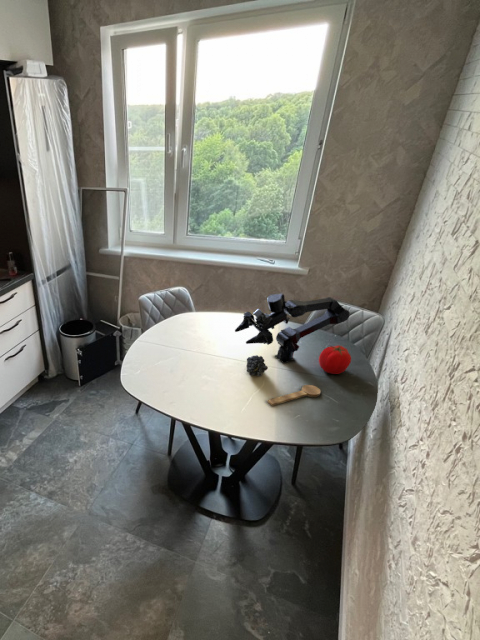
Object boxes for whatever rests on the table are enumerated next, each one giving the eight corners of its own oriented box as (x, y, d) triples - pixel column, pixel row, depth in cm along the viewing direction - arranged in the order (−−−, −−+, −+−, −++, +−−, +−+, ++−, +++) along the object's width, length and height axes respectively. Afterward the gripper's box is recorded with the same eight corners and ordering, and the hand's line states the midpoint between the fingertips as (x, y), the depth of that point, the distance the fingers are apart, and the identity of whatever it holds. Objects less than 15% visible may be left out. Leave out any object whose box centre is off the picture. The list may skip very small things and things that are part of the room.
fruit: (250, 344, 183) (254, 360, 171) (267, 350, 183) (272, 367, 171) (241, 359, 188) (244, 376, 176) (257, 365, 188) (262, 382, 176)
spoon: (310, 385, 170) (311, 383, 169) (323, 394, 164) (324, 392, 164) (264, 399, 164) (264, 396, 163) (275, 408, 158) (276, 406, 158)
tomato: (311, 371, 179) (318, 349, 172) (322, 359, 187) (328, 337, 180) (341, 381, 172) (349, 358, 165) (350, 368, 179) (358, 345, 173)
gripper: (258, 295, 176) (226, 313, 178) (283, 318, 163) (249, 336, 164) (261, 313, 184) (231, 330, 185) (286, 336, 170) (252, 353, 172)
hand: (240, 336), depth 176 cm, fingers open, 9 cm apart
